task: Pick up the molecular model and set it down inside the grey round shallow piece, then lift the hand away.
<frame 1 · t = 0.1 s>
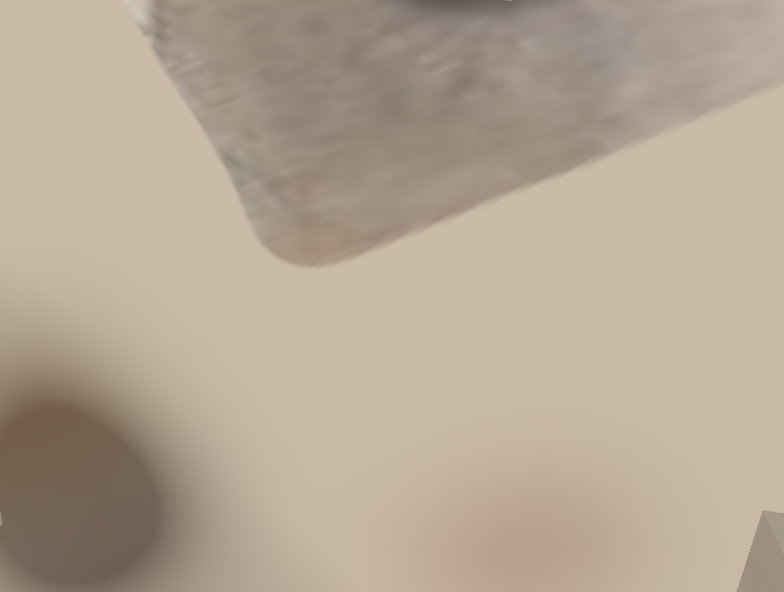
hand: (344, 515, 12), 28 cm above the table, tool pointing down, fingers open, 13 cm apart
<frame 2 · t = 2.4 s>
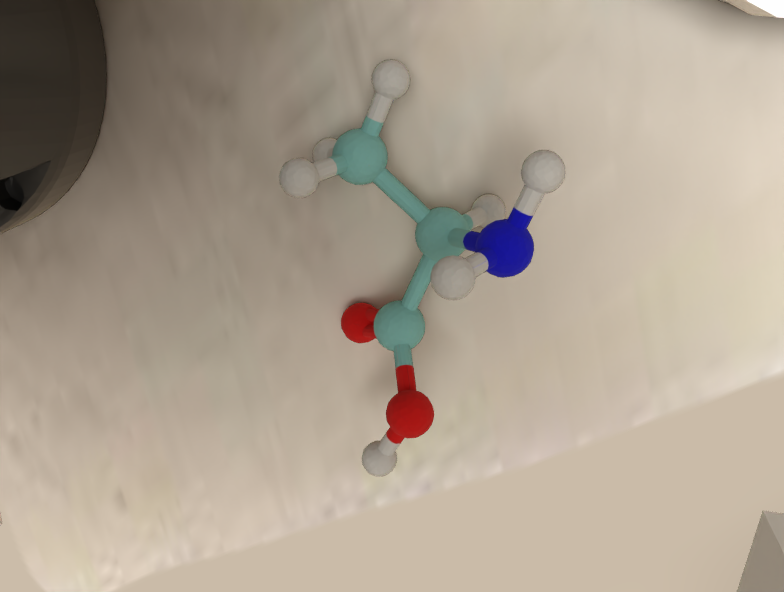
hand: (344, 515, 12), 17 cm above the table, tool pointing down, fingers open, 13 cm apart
molecular model: (434, 221, 28), on the table
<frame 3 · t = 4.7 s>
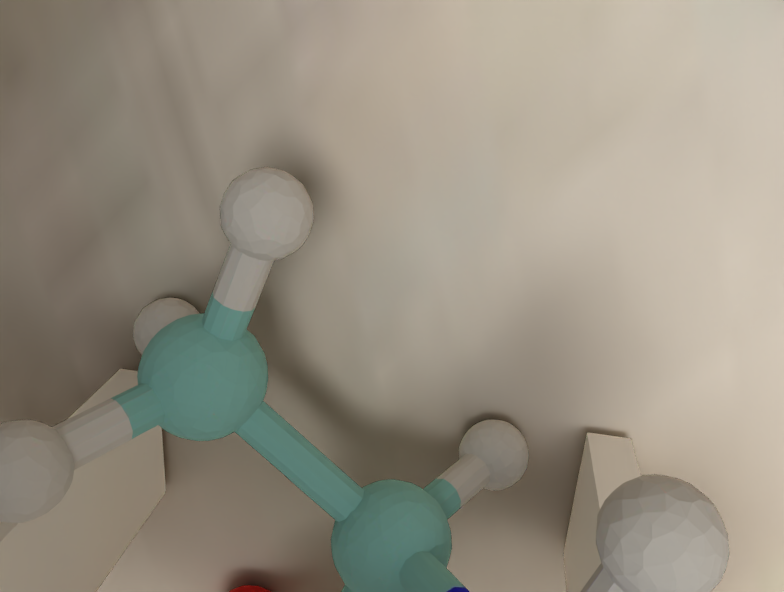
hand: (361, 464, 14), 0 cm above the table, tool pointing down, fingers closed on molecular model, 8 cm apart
molecular model: (386, 450, 14), on the table, touching gripper
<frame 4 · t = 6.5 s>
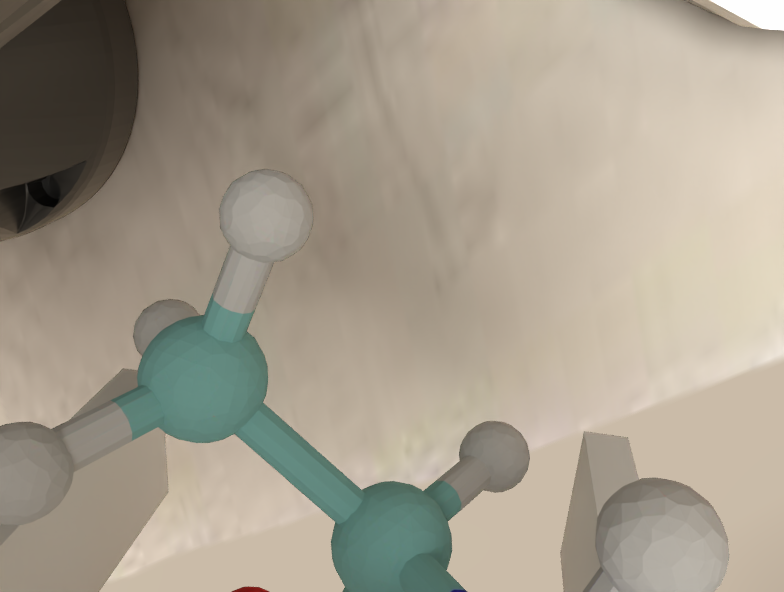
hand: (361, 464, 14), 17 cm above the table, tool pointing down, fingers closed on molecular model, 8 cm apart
molecular model: (386, 452, 14), point 16 cm above the table, touching gripper
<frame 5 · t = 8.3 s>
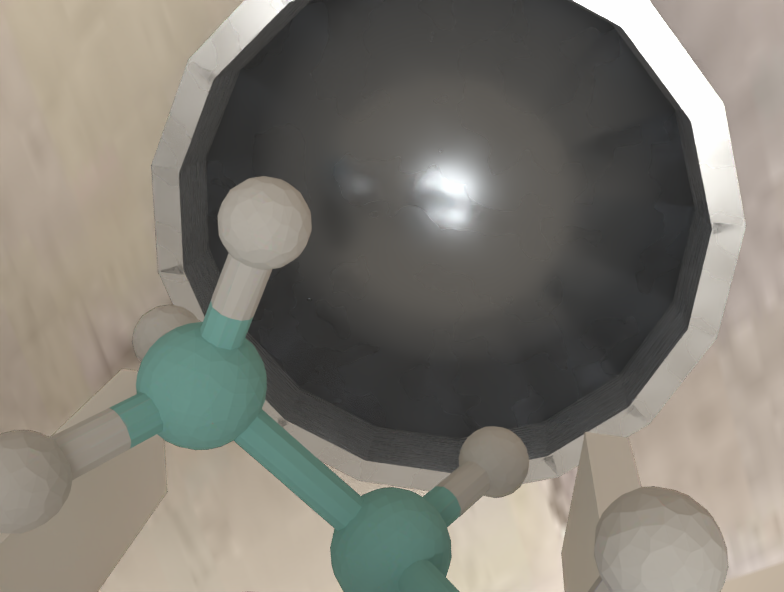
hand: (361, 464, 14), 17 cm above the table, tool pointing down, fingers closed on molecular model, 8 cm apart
molecular model: (386, 457, 14), point 16 cm above the table, touching gripper
grey round shallow piece: (440, 218, 29), on the table
when the fingers open (4 cm above the table, at t = 11.3 s): molecular model drops 2 cm, resting on grey round shallow piece.
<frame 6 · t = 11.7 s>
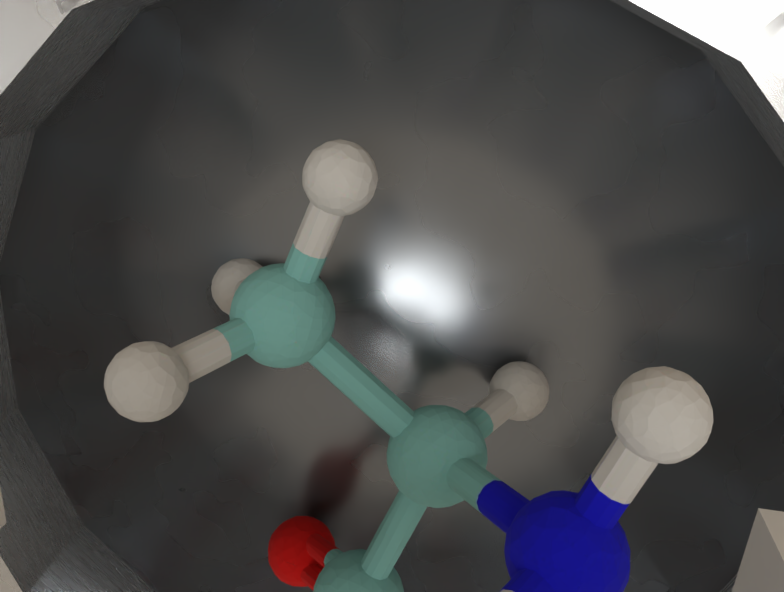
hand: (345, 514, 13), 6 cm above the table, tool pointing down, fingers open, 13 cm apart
molecular model: (424, 393, 16), point 1 cm above the table, touching grey round shallow piece
grey round shallow piece: (394, 362, 18), on the table
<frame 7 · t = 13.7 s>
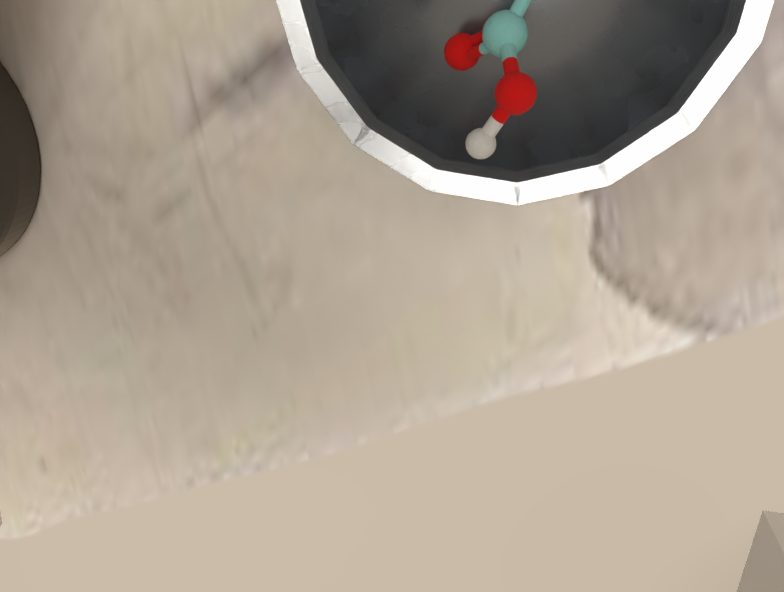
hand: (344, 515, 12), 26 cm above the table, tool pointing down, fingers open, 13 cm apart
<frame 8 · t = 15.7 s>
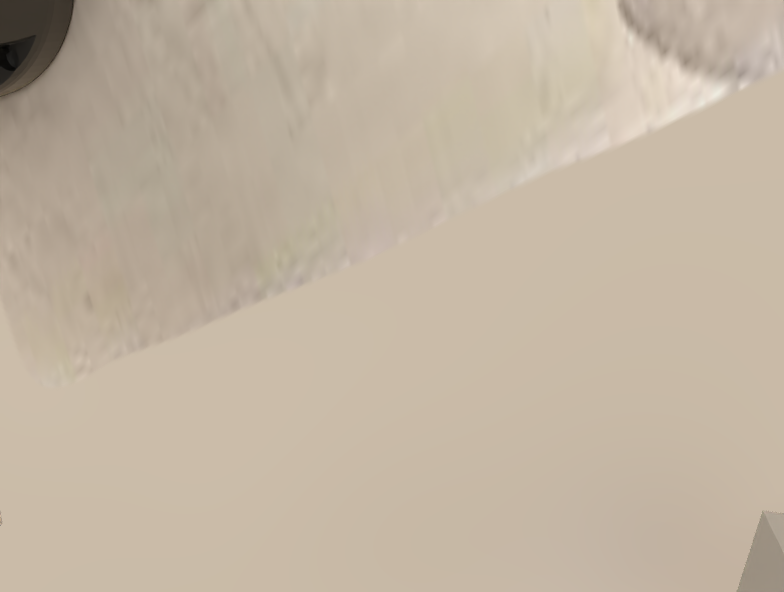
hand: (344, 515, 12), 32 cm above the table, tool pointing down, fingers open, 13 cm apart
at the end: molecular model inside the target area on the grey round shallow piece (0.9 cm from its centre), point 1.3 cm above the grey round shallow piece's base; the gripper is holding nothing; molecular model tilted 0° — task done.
